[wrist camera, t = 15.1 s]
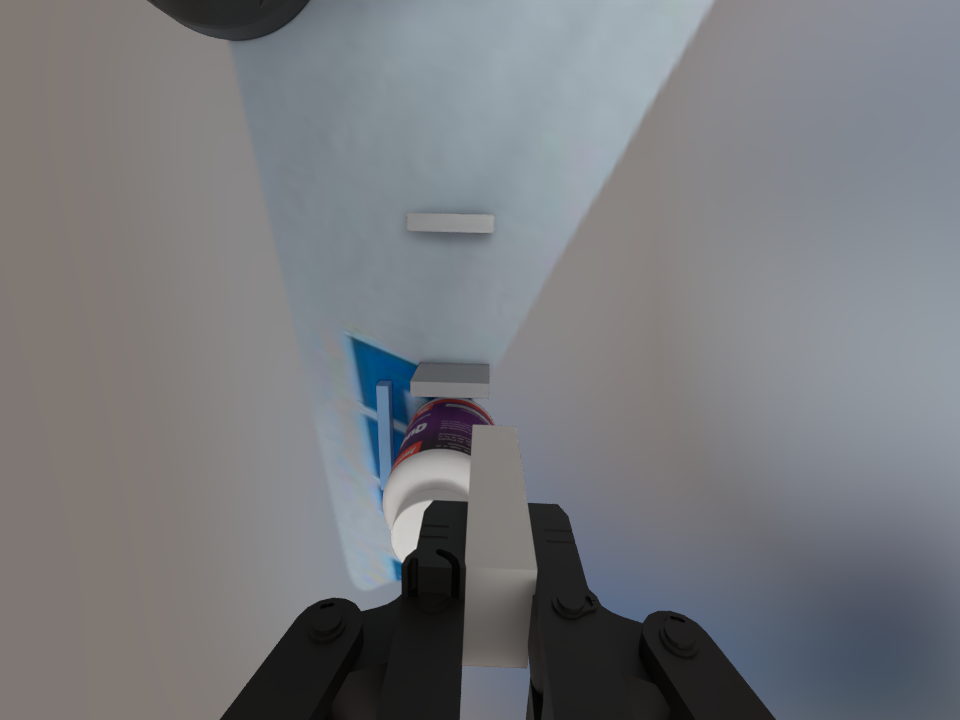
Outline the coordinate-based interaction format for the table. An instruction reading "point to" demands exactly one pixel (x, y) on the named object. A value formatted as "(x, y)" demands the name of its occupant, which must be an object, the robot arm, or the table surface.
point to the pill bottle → (430, 466)
